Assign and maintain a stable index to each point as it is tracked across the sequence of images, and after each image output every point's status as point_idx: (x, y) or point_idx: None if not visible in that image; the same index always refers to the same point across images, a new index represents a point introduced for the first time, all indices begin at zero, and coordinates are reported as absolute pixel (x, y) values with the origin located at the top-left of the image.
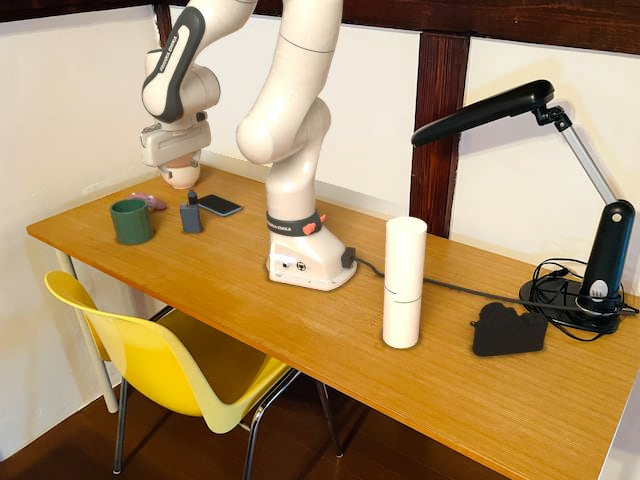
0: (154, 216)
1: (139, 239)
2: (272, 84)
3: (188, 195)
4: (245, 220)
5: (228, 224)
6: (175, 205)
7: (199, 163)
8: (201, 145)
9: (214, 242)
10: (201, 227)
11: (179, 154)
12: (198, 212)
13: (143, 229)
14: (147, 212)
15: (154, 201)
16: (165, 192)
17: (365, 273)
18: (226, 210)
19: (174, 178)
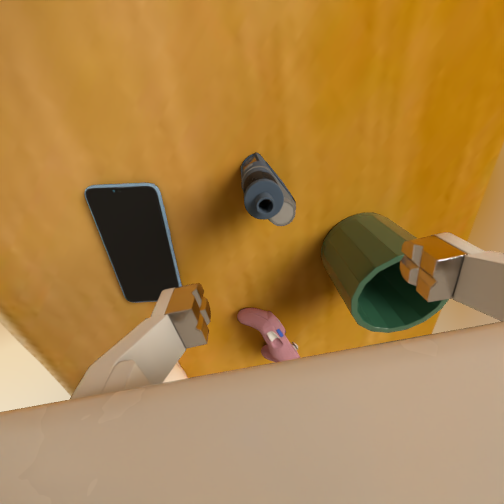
0: (276, 296)
1: (383, 217)
2: None
3: (283, 197)
4: (109, 113)
5: (167, 132)
6: (217, 309)
7: (159, 297)
8: (17, 449)
9: (265, 53)
10: (242, 166)
11: (465, 369)
12: (254, 162)
13: (381, 224)
14: (372, 252)
15: (271, 322)
16: (202, 360)
17: None
18: (136, 200)
19: (177, 379)
